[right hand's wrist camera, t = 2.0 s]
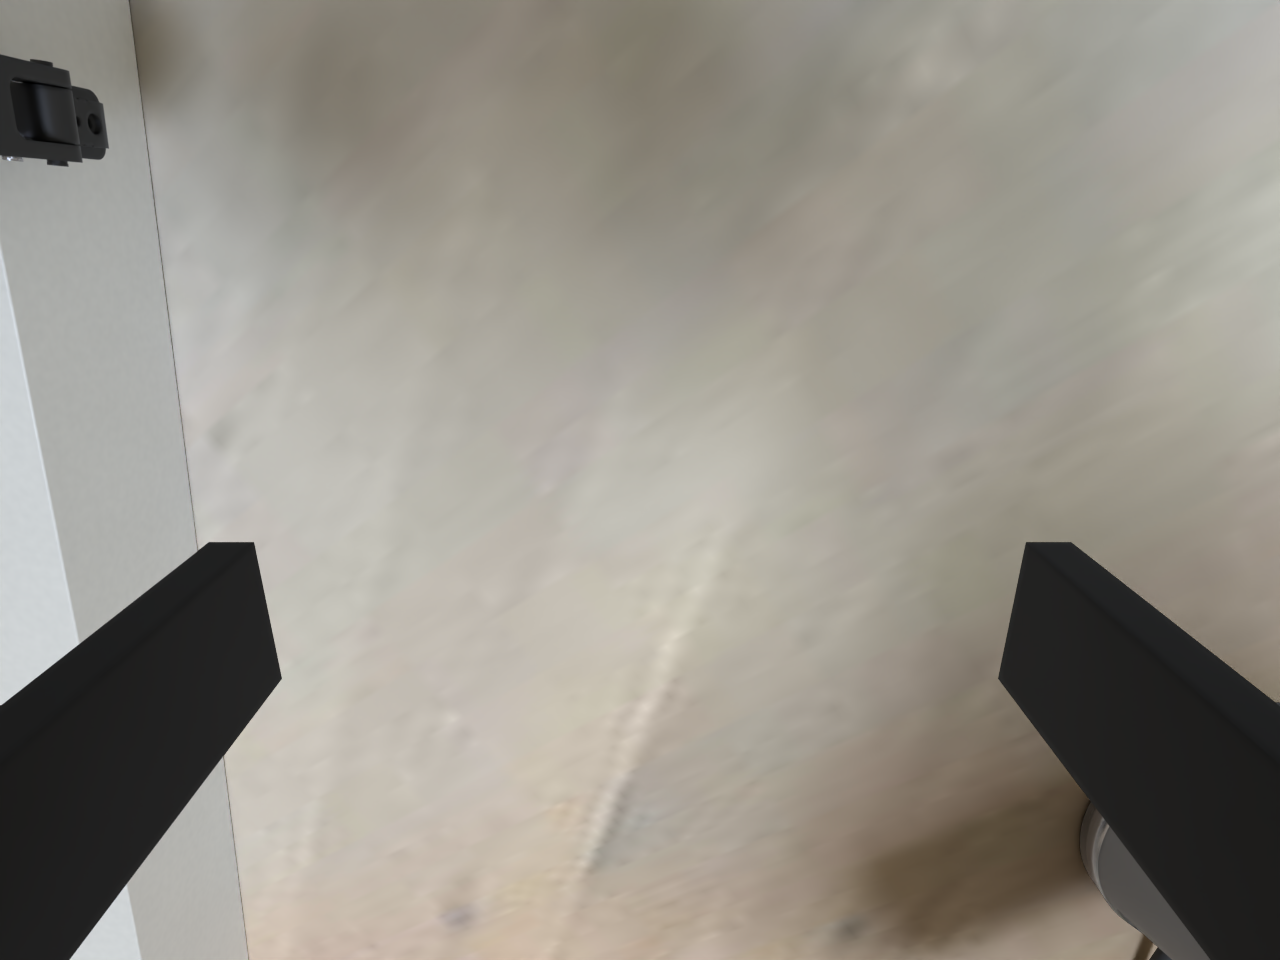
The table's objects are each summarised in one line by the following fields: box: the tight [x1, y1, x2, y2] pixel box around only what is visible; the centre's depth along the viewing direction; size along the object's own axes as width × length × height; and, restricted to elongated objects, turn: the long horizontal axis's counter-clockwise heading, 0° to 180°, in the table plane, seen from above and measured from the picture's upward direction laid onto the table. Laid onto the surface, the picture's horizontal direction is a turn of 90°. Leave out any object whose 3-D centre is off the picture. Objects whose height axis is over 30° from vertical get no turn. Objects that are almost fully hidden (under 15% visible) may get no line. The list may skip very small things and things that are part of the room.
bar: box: [0, 0, 249, 960], centre depth 35 cm, size 56×4×9 cm, turn 174°
